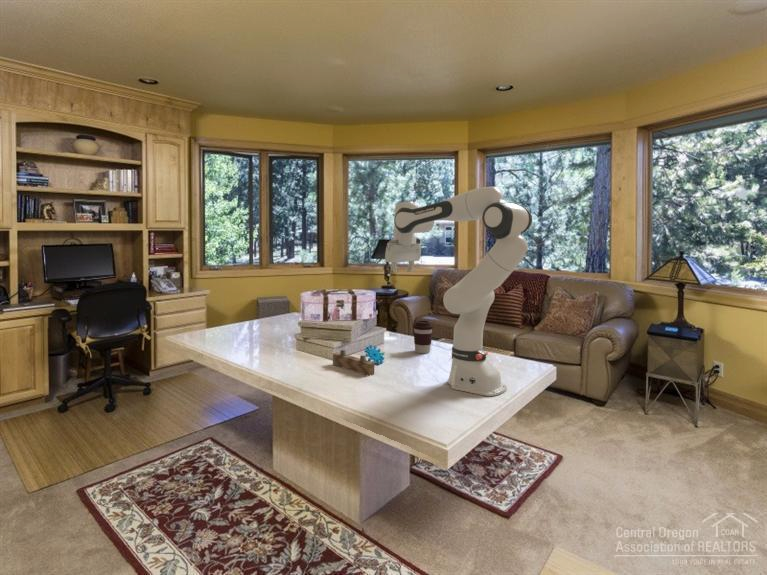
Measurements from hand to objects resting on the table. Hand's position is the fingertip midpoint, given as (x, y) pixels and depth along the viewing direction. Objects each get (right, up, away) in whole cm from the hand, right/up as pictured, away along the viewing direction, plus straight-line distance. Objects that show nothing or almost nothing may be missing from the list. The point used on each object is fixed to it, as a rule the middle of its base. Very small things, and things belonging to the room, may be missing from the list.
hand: (402, 272), depth 193 cm
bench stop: (-21, -41, -4) cm, 47 cm away
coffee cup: (+11, -38, +26) cm, 47 cm away
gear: (-12, -40, +7) cm, 43 cm away
